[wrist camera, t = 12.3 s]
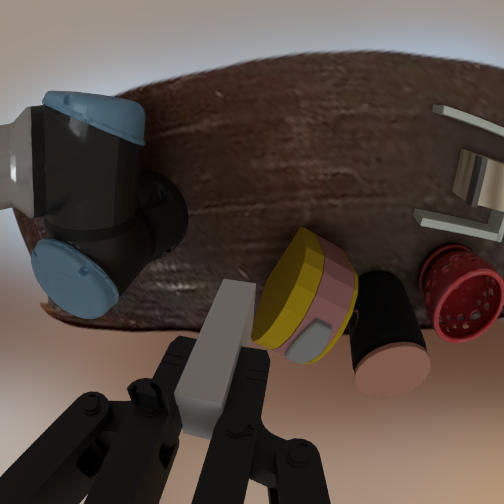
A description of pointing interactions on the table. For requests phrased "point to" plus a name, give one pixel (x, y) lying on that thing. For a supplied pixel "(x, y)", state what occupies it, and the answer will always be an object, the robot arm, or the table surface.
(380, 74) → the table surface
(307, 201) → the table surface
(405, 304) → the coffee jar
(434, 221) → the dock
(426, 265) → the plant pot
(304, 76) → the table surface
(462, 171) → the beige block
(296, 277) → the alarm clock
